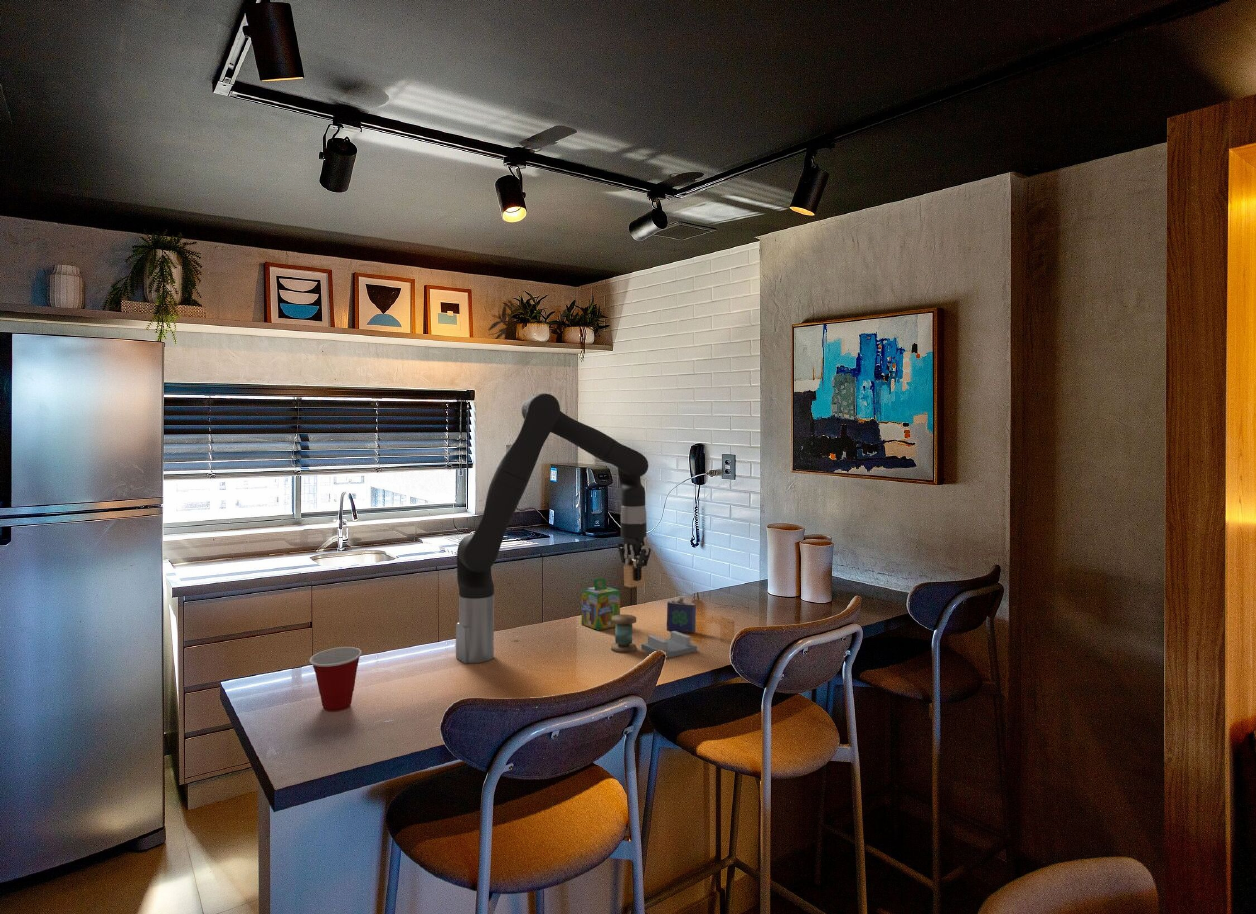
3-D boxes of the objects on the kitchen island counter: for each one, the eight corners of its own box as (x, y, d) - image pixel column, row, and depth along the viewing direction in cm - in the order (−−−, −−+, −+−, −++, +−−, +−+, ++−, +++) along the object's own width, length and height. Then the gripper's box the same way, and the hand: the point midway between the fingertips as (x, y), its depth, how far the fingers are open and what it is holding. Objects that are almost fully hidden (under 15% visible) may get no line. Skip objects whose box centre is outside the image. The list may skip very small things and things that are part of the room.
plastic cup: (300, 707, 164) (300, 653, 164) (347, 694, 172) (347, 643, 172) (323, 720, 157) (323, 664, 156) (371, 706, 165) (370, 653, 164)
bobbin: (620, 654, 205) (620, 622, 204) (606, 647, 210) (606, 616, 210) (640, 650, 209) (641, 618, 208) (626, 643, 215) (626, 613, 214)
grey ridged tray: (663, 658, 201) (663, 644, 201) (641, 649, 210) (641, 635, 209) (696, 651, 208) (697, 637, 208) (674, 642, 217) (674, 629, 216)
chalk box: (597, 631, 227) (598, 583, 227) (580, 624, 234) (580, 578, 234) (621, 626, 233) (621, 579, 233) (603, 620, 240) (603, 574, 240)
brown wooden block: (630, 587, 214) (629, 566, 214) (624, 585, 217) (623, 565, 216) (644, 584, 217) (643, 564, 217) (637, 583, 220) (637, 562, 219)
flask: (696, 632, 228) (697, 597, 227) (693, 634, 225) (694, 599, 225) (668, 628, 231) (668, 594, 231) (664, 631, 229) (665, 596, 228)
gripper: (609, 519, 219) (609, 577, 220) (637, 524, 208) (638, 585, 209) (629, 517, 224) (630, 573, 225) (658, 522, 212) (659, 581, 213)
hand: (634, 579), depth 217 cm, fingers closed on brown wooden block, 2 cm apart
